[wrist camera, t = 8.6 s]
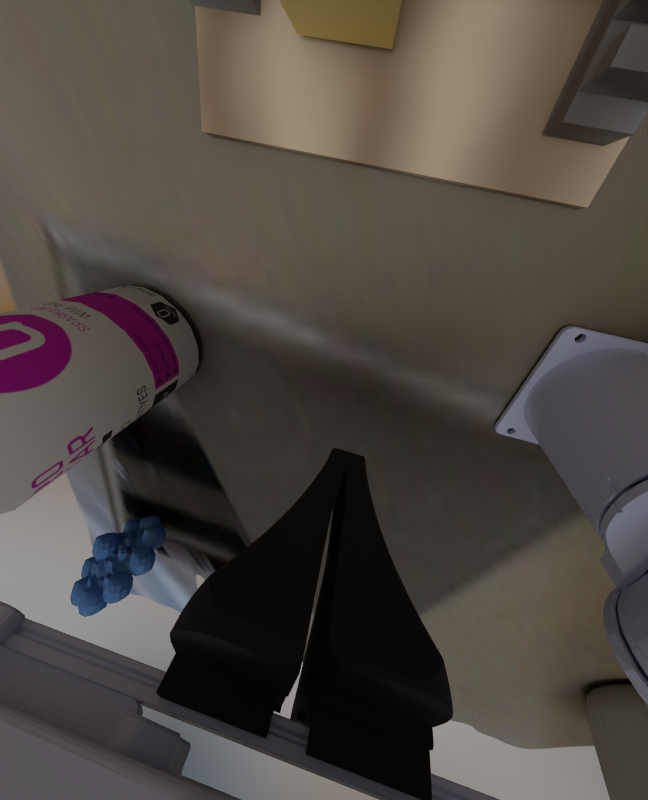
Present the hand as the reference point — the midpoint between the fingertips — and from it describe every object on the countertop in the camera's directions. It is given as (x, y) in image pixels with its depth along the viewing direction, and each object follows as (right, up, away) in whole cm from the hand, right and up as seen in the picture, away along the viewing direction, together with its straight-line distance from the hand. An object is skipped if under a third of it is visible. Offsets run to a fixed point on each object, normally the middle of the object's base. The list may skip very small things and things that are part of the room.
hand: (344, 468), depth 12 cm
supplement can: (-14, +8, +11) cm, 20 cm away
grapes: (-25, -13, +27) cm, 39 cm away
